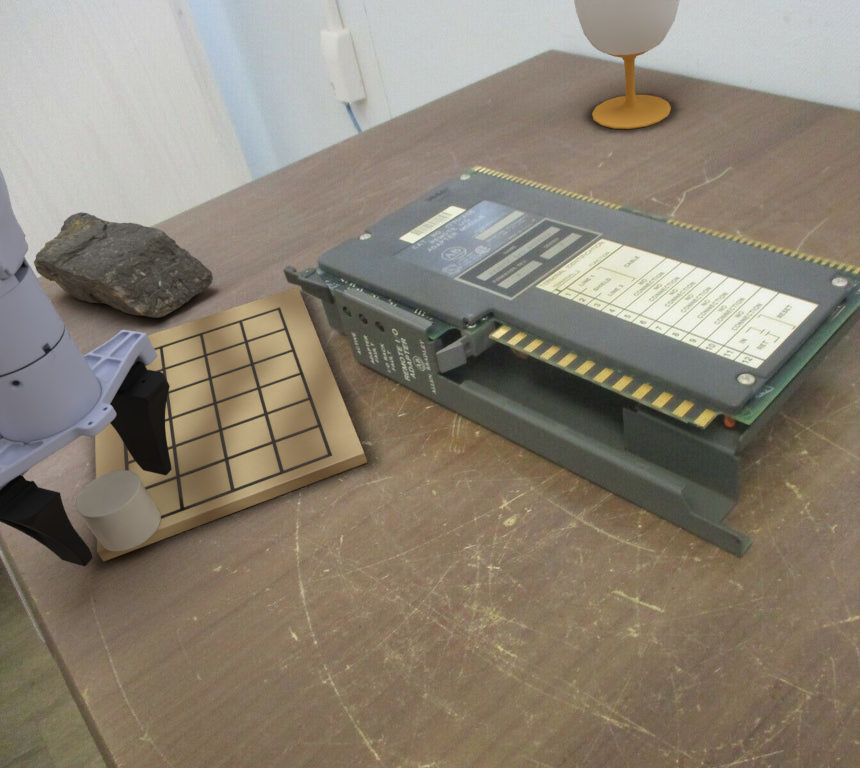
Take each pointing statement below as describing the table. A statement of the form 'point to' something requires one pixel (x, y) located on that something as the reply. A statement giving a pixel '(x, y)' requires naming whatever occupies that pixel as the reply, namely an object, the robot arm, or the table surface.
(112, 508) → the grey short cylinder
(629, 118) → the cup
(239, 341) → the board
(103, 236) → the rock
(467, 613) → the table surface
